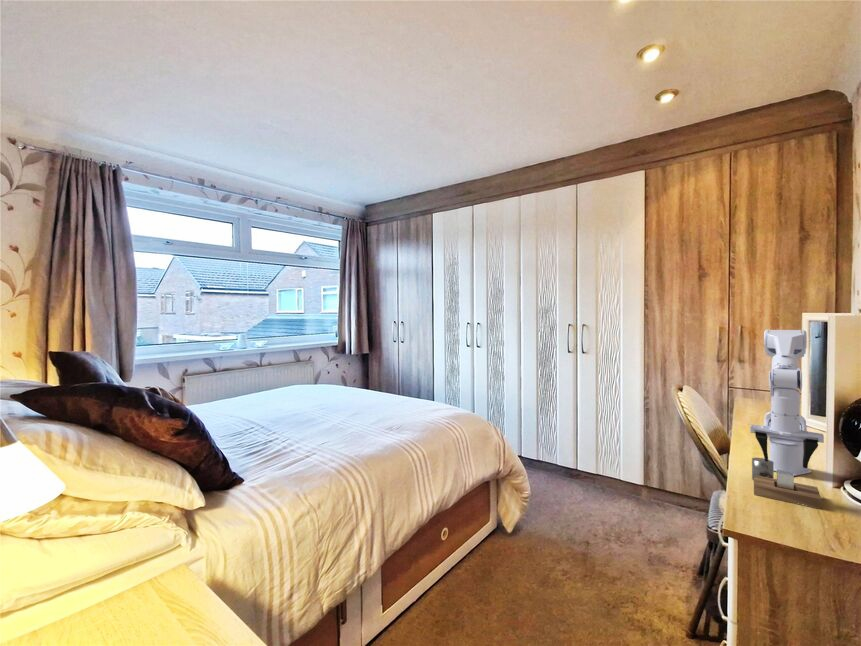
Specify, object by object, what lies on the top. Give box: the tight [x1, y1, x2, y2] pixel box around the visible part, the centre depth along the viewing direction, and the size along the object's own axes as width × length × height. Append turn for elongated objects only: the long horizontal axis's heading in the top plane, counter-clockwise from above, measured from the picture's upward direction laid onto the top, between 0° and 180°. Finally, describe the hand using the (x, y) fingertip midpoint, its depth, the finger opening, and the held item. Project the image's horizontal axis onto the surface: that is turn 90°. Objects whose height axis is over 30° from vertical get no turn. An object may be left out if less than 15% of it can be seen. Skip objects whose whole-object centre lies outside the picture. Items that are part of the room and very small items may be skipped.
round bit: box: [751, 457, 775, 481], centre depth 114 cm, size 5×5×6 cm
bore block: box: [753, 475, 823, 510], centre depth 104 cm, size 9×13×2 cm
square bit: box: [776, 470, 795, 491], centre depth 104 cm, size 3×3×6 cm
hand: (785, 463), depth 104 cm, fingers open, 7 cm apart
